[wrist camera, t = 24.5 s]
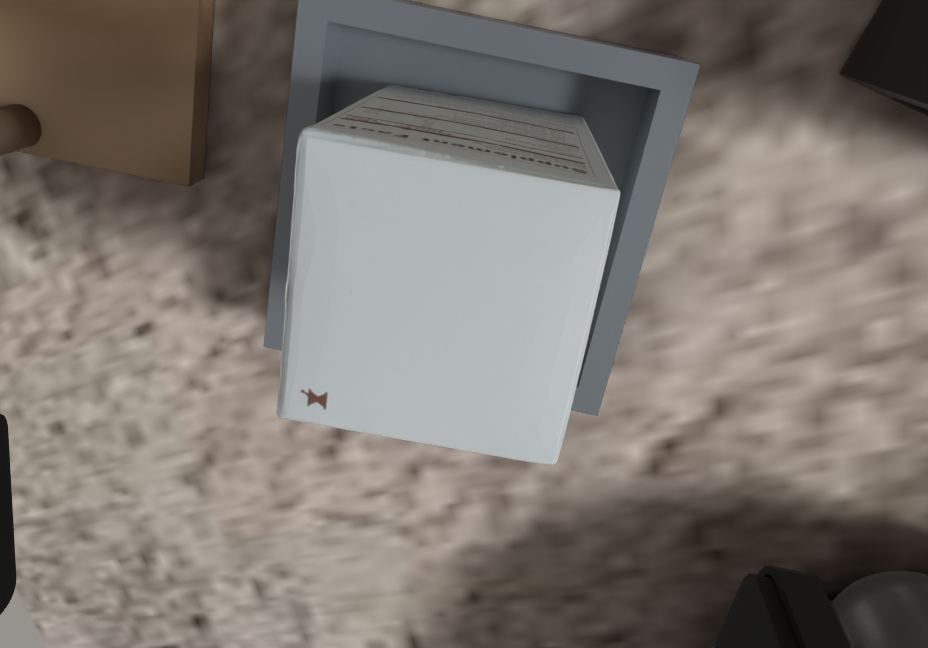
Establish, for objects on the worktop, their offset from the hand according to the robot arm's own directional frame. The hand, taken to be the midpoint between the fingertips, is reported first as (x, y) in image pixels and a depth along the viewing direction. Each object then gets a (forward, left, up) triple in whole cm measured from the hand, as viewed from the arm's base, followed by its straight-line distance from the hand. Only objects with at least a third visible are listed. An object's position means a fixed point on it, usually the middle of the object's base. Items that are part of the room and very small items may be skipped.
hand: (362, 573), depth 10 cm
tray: (0, 0, -23) cm, 23 cm away
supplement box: (0, 0, -22) cm, 22 cm away
